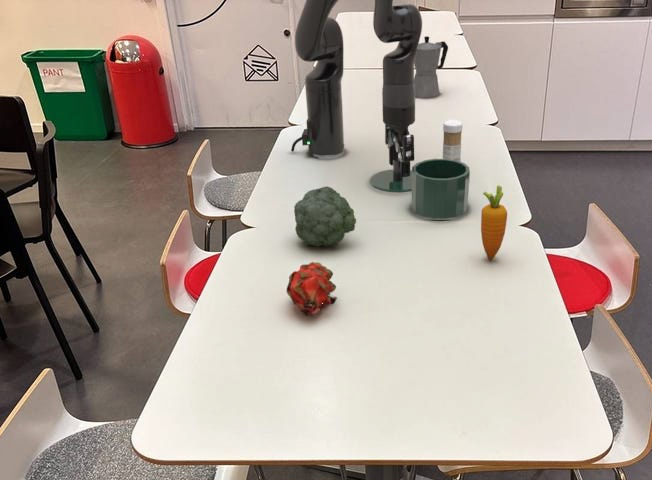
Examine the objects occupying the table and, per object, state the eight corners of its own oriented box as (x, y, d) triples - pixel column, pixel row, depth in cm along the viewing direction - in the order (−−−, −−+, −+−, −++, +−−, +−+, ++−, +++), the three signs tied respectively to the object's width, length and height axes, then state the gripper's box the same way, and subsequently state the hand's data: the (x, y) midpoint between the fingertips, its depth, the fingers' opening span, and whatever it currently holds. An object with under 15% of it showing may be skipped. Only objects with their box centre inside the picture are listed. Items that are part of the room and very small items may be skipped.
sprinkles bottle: (455, 171, 179) (457, 118, 171) (462, 178, 175) (465, 123, 167) (438, 174, 177) (440, 120, 169) (446, 180, 174) (448, 126, 166)
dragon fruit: (319, 294, 133) (316, 337, 125) (280, 274, 130) (274, 316, 121) (344, 264, 128) (343, 307, 120) (304, 242, 125) (299, 284, 116)
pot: (410, 220, 156) (411, 179, 150) (412, 197, 166) (412, 158, 160) (468, 221, 155) (470, 180, 149) (465, 198, 165) (468, 158, 159)
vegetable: (376, 221, 150) (353, 218, 136) (335, 261, 155) (309, 262, 140) (340, 178, 151) (313, 171, 137) (300, 220, 155) (270, 217, 141)
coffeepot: (418, 101, 229) (419, 41, 218) (401, 94, 235) (401, 36, 224) (454, 93, 236) (457, 35, 225) (437, 87, 242) (438, 30, 232)
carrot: (487, 267, 138) (493, 195, 129) (473, 257, 141) (477, 186, 132) (508, 261, 139) (515, 189, 131) (493, 251, 143) (499, 181, 134)
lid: (368, 194, 168) (367, 169, 164) (372, 173, 179) (371, 149, 175) (425, 194, 167) (426, 170, 163) (425, 173, 178) (426, 149, 174)
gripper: (373, 95, 166) (375, 162, 175) (393, 112, 155) (394, 182, 164) (403, 92, 168) (404, 159, 177) (425, 108, 157) (424, 178, 166)
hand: (399, 170), depth 171 cm, fingers open, 8 cm apart
